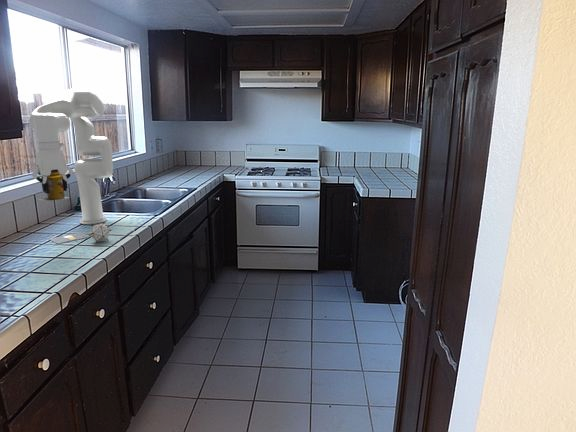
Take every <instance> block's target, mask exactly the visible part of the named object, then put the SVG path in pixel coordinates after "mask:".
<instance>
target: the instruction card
mask: <svg viewBox="0 0 576 432" xmlns="http://www.w3.org/2000/svg"><path fill="white" fill-rule="evenodd" d="M88 238H92V236H91V235H90V236H89V234H86V233H84V232H83V231H82V232H77V233H76V232H75V233H71V234H66V235H62V236H57V237H53V238H48V240H49V241H51V242H52V243H54V244H56V245H59V244H60V245H61V244H66V243H70V242H74V241H79V240H82V239H88Z"/></svg>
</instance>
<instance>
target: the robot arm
mask: <svg viewBox="0 0 576 432" xmlns="http://www.w3.org/2000/svg"><path fill="white" fill-rule="evenodd" d="M104 113H105V106H104V103H103V101H102V100H101V98H99V96H98V95H97V94H96V93H95V92H94V91H93V90H92V89H88V88H70V89H69V88H68V89H65V90H63V91H62V92H61V93H60V95H59V96H58V97H57V98H56V99H55V100H54V101H50V102H48V103H46V104H42V105H39V106H37V108H35V109H34V110H33V111H32V112H31V114H30V116H29V118H28V125H29V127H30V129H31V130H32V132H33V131H34V132H35V135H36V137H35V138H36V142H37V150H36V151H35V166H36V167H35V169H34V170H33V171H32V172H31V174H30V176H31V177H32V178H34V179H36V181H38V182H39V183H40V184H41V189H42V191H43V192H44V193H45V194H48V193H49V190H48V184H47V183H46V180H47V176H50V174H51V170H59V173H60V175H62V180H63V187H64V192H67V191H68V189H69V188H68V180H69V178H70V177H71V175H73V174H75V176H76V180H77V185H78V186H77V187H78V192H79V193H78V194H79V200H80V201H79V202H80V208H81V216H82V217H81V219H79V224H82V225H92V224H93V225H97V224H102V223H103V222H106V221H107V220H108V218H107V217H106V216H104V213H103V212H104V210H103V205H102V194H101V187H100V184H99V182H97V181H96V180H95V179H107V178H111V177H112V176H113V172H114V164H113V163H114V162H113V151H112V150H113V149H112V142H111V140H110V139H109V137H106V136H96V135H95V127H94V124H93V123H92V122H91V121H90V119H88V118H100V117H102V116H103V115H104ZM70 120H71V122H72V124H73V126H74V131H75V135H74V136H75V146H76V152H77V154H78V155H79V156H81V157H101V158H81V159H78V160H76V161H74V164H73V168H72V167H70V166H69V165H68V164H67V159H66V156H65V154H64V150H63V148H62V147H64V142H61V141H60V137H59V133H65V132H67V131H68V130H69V129H70V126H71V122H70ZM61 148H62V149H61Z"/></svg>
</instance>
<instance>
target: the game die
mask: <svg viewBox="0 0 576 432" xmlns="http://www.w3.org/2000/svg"><path fill="white" fill-rule="evenodd" d="M105 223H106V221H104V222H102V223H97V224H91V226H92V227H91V231H90V233H89V234H88V235H89V236H91V238H92V239H93V240H94V241H95V244H97V243H98V242H101V241H106V242H107V241H108V242H109V241H110V240H109V239H108V238H109V236H110V232H111V231H112V229H109V228H108V226H107V225H105Z"/></svg>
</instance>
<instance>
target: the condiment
mask: <svg viewBox="0 0 576 432" xmlns="http://www.w3.org/2000/svg"><path fill="white" fill-rule="evenodd" d="M46 183H47V184H48V190H49V193H48V194H47V193H46V194H47V197H45V198H39V200H40V201H43V202H53V201H59V200H66V199H69V198H70V197H68V196H65V191H64V187H63V180H62V175H60V173H59V170H51V174H50V176H47V180H46Z"/></svg>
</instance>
